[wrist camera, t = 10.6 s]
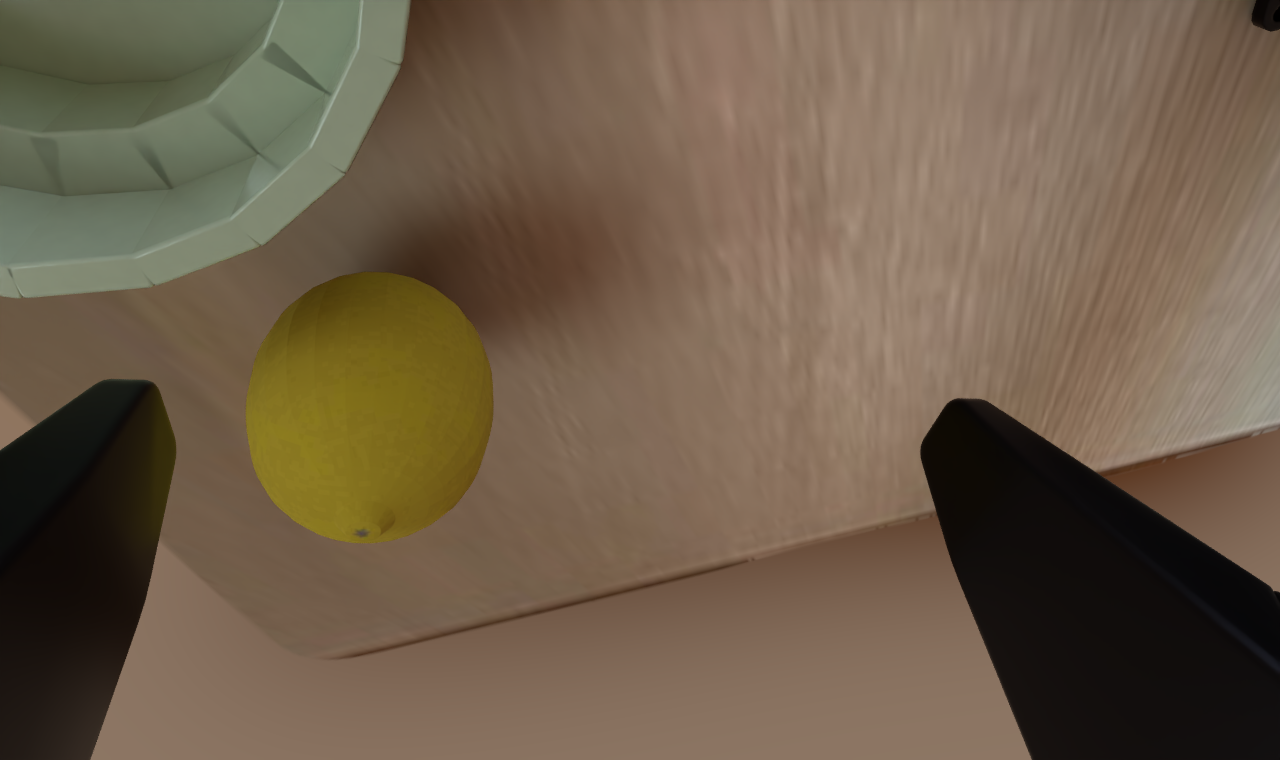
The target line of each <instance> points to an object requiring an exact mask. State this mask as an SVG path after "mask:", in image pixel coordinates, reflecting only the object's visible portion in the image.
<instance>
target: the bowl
mask: <svg viewBox="0 0 1280 760" xmlns="http://www.w3.org/2000/svg"><path fill="white" fill-rule="evenodd" d="M411 1H412V0H0V296H4V297H11V298H22V297H24V298H33V297H45V296H56V295H68V294H80V293H91V292H103V291H115V290H127V289H138V288H150V287H153V286H154V285H161V284H163V283H166V282H168V281H171V280H174V279H176V278H179V277H182V276H184V275H187V274H189V273H192V272H195V271H197V270H200V269H203V268H205V267H208V266H210V265H213V264H216V263H218V262H221V261H224V260H226V259H229V258H231V257H234V256H237V255H239V254H242V253H245V252H247V251H250V250H252V249H255V248H258V247H260V246H261V245H265V244H266V243H268V242H269V241H270V240H271V239H272V238H273V237H275V236H276V235H277V234H278V233H279V232H280V231H282V230H283V229H284V228H285V227H286V226H287V225H288V224H290V223H291V222H292V221H293V220H294V219H295V218H297V217H298V216H299V215H300V214H301V213H302V212H303V211H305V210H306V209H307V208H308V207H309V206H310V205H312V204H313V203H314V202H315V201H316V200H317V199H319V198H320V197H321V196H322V195H323V194H324V193H325V192H327V191H328V190H329V189H330V188H331V187H332V186H334V185H335V184H336V183H337V182H338V181H339V180H340V179H342V178H343V177H344V176H345V174H346V172H347V171H348V170H349V169H350V167H351V165H352V163H353V161H354V159H355V157H356V155H357V153H358V151H359V149H360V147H361V145H362V143H363V141H364V140H365V138H366V136H367V134H368V132H369V130H370V128H371V126H372V124H373V122H374V120H375V118H376V116H377V114H378V112H379V110H380V108H381V106H382V105H383V103H384V101H385V99H386V97H387V95H388V93H389V91H390V89H391V87H392V85H393V83H394V81H395V79H396V77H397V75H398V73H399V72H400V70H401V64H402V62H403V60H404V52H405V45H406V37H407V30H408V23H409V15H410V8H411Z"/></svg>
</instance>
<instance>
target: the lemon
mask: <svg viewBox="0 0 1280 760" xmlns="http://www.w3.org/2000/svg"><path fill="white" fill-rule="evenodd" d="M492 420H493V382H492V373H491V368H490V364H489V361H488V358H487V355H486V352H485V350H484V347H483V345H482V342H481V340H480V337H479V335H478V333H477V331H476V329H475V327H474V326H473V325H472V323H471V322H470V321H469V320H468V318H467V317H466V316H465V315H464V314H463V312H462V311H461V310H460V309H459V307H458V306H457V305H456V304H455V303H454V302H452V301H451V300H450V299H448V298H447V297H446V296H444V295H443V294H442V293H441V292H439V291H438V290H437V289H435V288H434V287H432V286H429V285H427V284H425V283H423V282H421V281H418V280H416V279H414V278H411V277H407V276H402V275H398V274H393V273H388V272H361V273H355V274H349V275H343V276H340V277H337V278H334V279H332V280H330V281H327V282H325V283H323V284H320V285H318V286H316V287H313V288H312V289H311V290H309V291H308V292H307V293H305V294H304V295H303V296H301V297H300V298H299V299H298V300H296V301H295V302H294V303H292V304H291V305H290V306H289V307H288V308H287V309H286V310H285V311H284V312H283V313H282V314H281V316H280V317H279V319H278V320H277V322H276V323H275V324H274V326H273V327H272V329H271V330H270V332H269V333H268V335H267V336H266V338H265V339H264V341H263V342H262V345H261V347H260V349H259V351H258V353H257V356H256V359H255V362H254V366H253V370H252V375H251V379H250V384H249V388H248V393H247V400H246V427H247V435H248V441H249V447H250V452H251V457H252V463H253V466H254V469H255V472H256V474H257V477H258V478H259V480H260V482H261V483H262V485H263V487H264V488H265V490H266V492H267V493H268V495H269V496H270V498H271V500H272V501H273V502H274V503H275V504H276V505H277V506H278V507H279V508H280V509H281V510H282V511H284V512H285V513H286V514H287V515H288V516H289V517H290V518H291V519H293V520H294V521H295V522H297V523H298V524H300V525H302V526H304V527H306V528H308V529H309V530H311V531H313V532H315V533H317V534H319V535H322V536H325V537H328V538H331V539H334V540H339V541H345V542H352V543H377V542H385V541H392V540H395V539H398V538H402V537H405V536H408V535H411V534H413V533H415V532H417V531H419V530H421V529H423V528H425V527H427V526H429V525H431V524H433V523H434V522H435V521H437V520H438V519H439V518H440V517H442V516H443V515H444V514H446V513H447V512H448V511H449V510H451V509H452V508H453V507H454V506H455V505H456V504H457V503H458V501H459V500H460V499H461V498H462V496H463V495H464V494H465V492H466V491H467V490H468V488H469V487H470V485H471V484H472V482H473V480H474V479H475V477H476V475H477V473H478V470H479V468H480V465H481V462H482V459H483V456H484V453H485V449H486V446H487V443H488V439H489V436H490V432H491V427H492Z"/></svg>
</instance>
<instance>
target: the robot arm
mask: <svg viewBox="0 0 1280 760" xmlns="http://www.w3.org/2000/svg"><path fill="white" fill-rule="evenodd" d="M1277 8H1278V9H1277ZM1276 9H1277V10H1276ZM1252 23H1253V25H1255V26H1258V27H1260V28H1263V29H1265V30H1268V31H1270V32H1271V31H1276V30H1279V29H1280V0H1256V3H1255V6H1254V9H1253V13H1252ZM920 455H921V461H922V465H923V468H924V471H925V475H926V478H927V481H928V485H929V488H930V492H931V495H932V498H933V502H934V505H935V508H936V512H937V515H938V518H939V522H940V525H941V529H942V532H943V535H944V539H945V542H946V545H947V549H948V552H949V555H950V558H951V561H952V564H953V567H954V569H955V572H956V574H957V577H958V580H959V582H960V585H961V587H962V590H963V592H964V594H965V597H966V599H967V602H968V604H969V606H970V609H971V612H972V614H973V616H974V619H975V621H976V624H977V626H978V629H979V631H980V634H981V636H982V638H983V641H984V643H985V646H986V648H987V651H988V653H989V656H990V658H991V660H992V663H993V665H994V668H995V670H996V673H997V675H998V678H999V680H1000V683H1001V685H1002V688H1003V690H1004V692H1005V695H1006V697H1007V700H1008V702H1009V705H1010V707H1011V710H1012V712H1013V714H1014V717H1015V719H1016V722H1017V724H1018V727H1019V729H1020V731H1021V734H1022V737H1023V739H1024V741H1025V744H1026V746H1027V749H1028V751H1029V753H1030V756H1031V759H1032V760H1280V592H1277V591H1273V590H1272V588H1271V587H1270V586H1269V585H1267V584H1266V583H1264V582H1263V581H1261V580H1260V579H1258V578H1257V577H1255V576H1254V575H1252V574H1251V573H1249V572H1247V571H1246V570H1244V569H1243V568H1241V567H1240V566H1238V565H1237V564H1235V563H1234V562H1232V561H1231V560H1229V559H1227V558H1226V557H1225V556H1223V555H1221V554H1220V553H1218V552H1217V551H1215V550H1214V549H1212V548H1211V547H1209V546H1208V545H1206V544H1205V543H1203V542H1202V541H1200V540H1199V539H1197V538H1195V537H1194V536H1192V535H1191V534H1189V533H1188V532H1186V531H1185V530H1183V529H1182V528H1180V527H1179V526H1177V525H1176V524H1174V523H1173V522H1171V521H1170V520H1168V519H1166V518H1165V517H1163V516H1162V515H1160V514H1159V513H1157V512H1156V511H1154V510H1153V509H1151V508H1150V507H1148V506H1147V505H1145V504H1143V503H1142V502H1140V501H1139V500H1137V499H1136V498H1134V497H1133V496H1131V495H1130V494H1128V493H1127V492H1125V491H1124V490H1122V489H1120V488H1119V487H1117V486H1116V485H1114V484H1113V483H1111V482H1110V481H1108V480H1107V479H1105V478H1104V477H1102V476H1101V475H1099V474H1098V473H1096V472H1095V471H1093V470H1092V469H1090V468H1089V467H1087V466H1086V465H1084V464H1082V463H1081V462H1079V461H1078V460H1076V459H1075V458H1073V457H1072V456H1070V455H1069V454H1067V453H1066V452H1064V451H1063V450H1061V449H1060V448H1058V447H1056V446H1055V445H1053V444H1052V443H1050V442H1049V441H1047V440H1046V439H1044V438H1043V437H1041V436H1040V435H1038V434H1037V433H1035V432H1034V431H1032V430H1030V429H1029V428H1027V427H1026V426H1024V425H1023V424H1021V423H1020V422H1018V421H1017V420H1015V419H1014V418H1012V417H1011V416H1009V415H1008V414H1006V413H1005V412H1003V411H1001V410H1000V409H998V408H997V407H995V406H994V405H992V404H991V403H989V402H987V401H985V400H982V399H966V398H957V399H953V400H952V401H950V402H948V403H947V404H946V406H945V407H944V409H943V410H942V412H941V413H940V415H939V416H938V418H937V419H936V421H935V422H934V424H933V425H932V427H931V428H930V430H929V431H928V433H927V435H926V436H925V438H924V439H923V441H922V444H921V450H920ZM175 460H176V441H175V437H174V433H173V430H172V427H171V424H170V421H169V418H168V415H167V412H166V409H165V406H164V403H163V400H162V397H161V394H160V391H159V389H158V387H157V386H156V385H155V384H154V383H153V382H151V381H148V380H126V379H109V380H103V381H101V382H99V383H97V384H95V385H94V386H92V387H91V388H89V389H88V390H86V391H85V392H83V393H82V394H81V395H79V396H78V397H76V398H75V399H73V400H72V401H71V402H69V403H68V404H66V405H65V406H63V407H62V408H60V409H59V410H58V411H56V412H55V413H53V414H52V415H50V416H49V417H47V418H46V419H45V420H43V421H42V422H40V423H39V424H37V425H36V426H34V427H33V428H32V429H30V430H29V431H28V432H26V433H24V434H23V435H22V436H20V437H19V438H17V439H16V440H14V441H13V442H11V443H10V444H9V445H7V446H6V447H4V448H3V449H1V450H0V760H90V759H91V756H92V753H93V750H94V747H95V745H96V742H97V739H98V736H99V733H100V730H101V727H102V725H103V722H104V719H105V716H106V713H107V711H108V708H109V705H110V702H111V699H112V696H113V693H114V690H115V688H116V685H117V682H118V679H119V676H120V673H121V671H122V668H123V665H124V662H125V659H126V656H127V654H128V650H129V648H130V645H131V642H132V639H133V636H134V633H135V631H136V628H137V625H138V622H139V619H140V616H141V612H142V609H143V606H144V603H145V600H146V596H147V591H148V587H149V582H150V579H151V574H152V570H153V564H154V559H155V555H156V550H157V546H158V541H159V536H160V532H161V527H162V522H163V517H164V513H165V508H166V503H167V498H168V494H169V489H170V484H171V480H172V475H173V470H174V465H175Z"/></svg>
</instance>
